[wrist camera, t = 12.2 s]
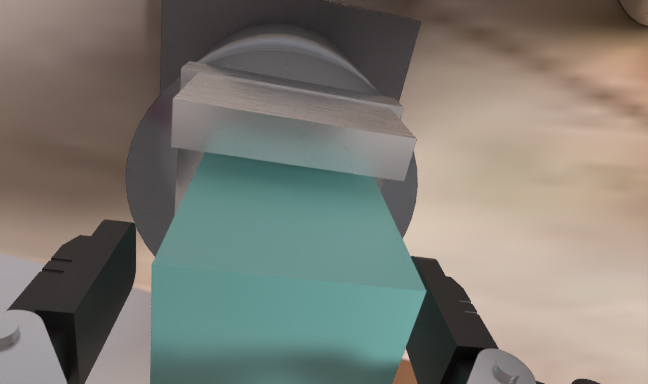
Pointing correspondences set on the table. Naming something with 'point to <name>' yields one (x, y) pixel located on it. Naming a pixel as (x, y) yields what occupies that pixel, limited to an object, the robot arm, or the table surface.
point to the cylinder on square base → (274, 99)
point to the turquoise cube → (281, 279)
